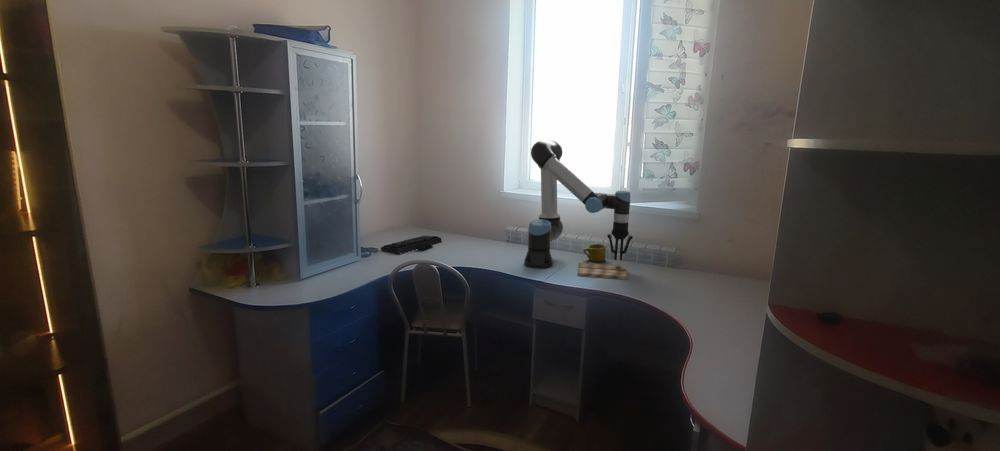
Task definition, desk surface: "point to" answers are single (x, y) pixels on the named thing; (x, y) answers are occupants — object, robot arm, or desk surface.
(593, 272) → the floor strip
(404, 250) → the black gun
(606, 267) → the plank
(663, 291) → the desk surface
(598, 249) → the mug
